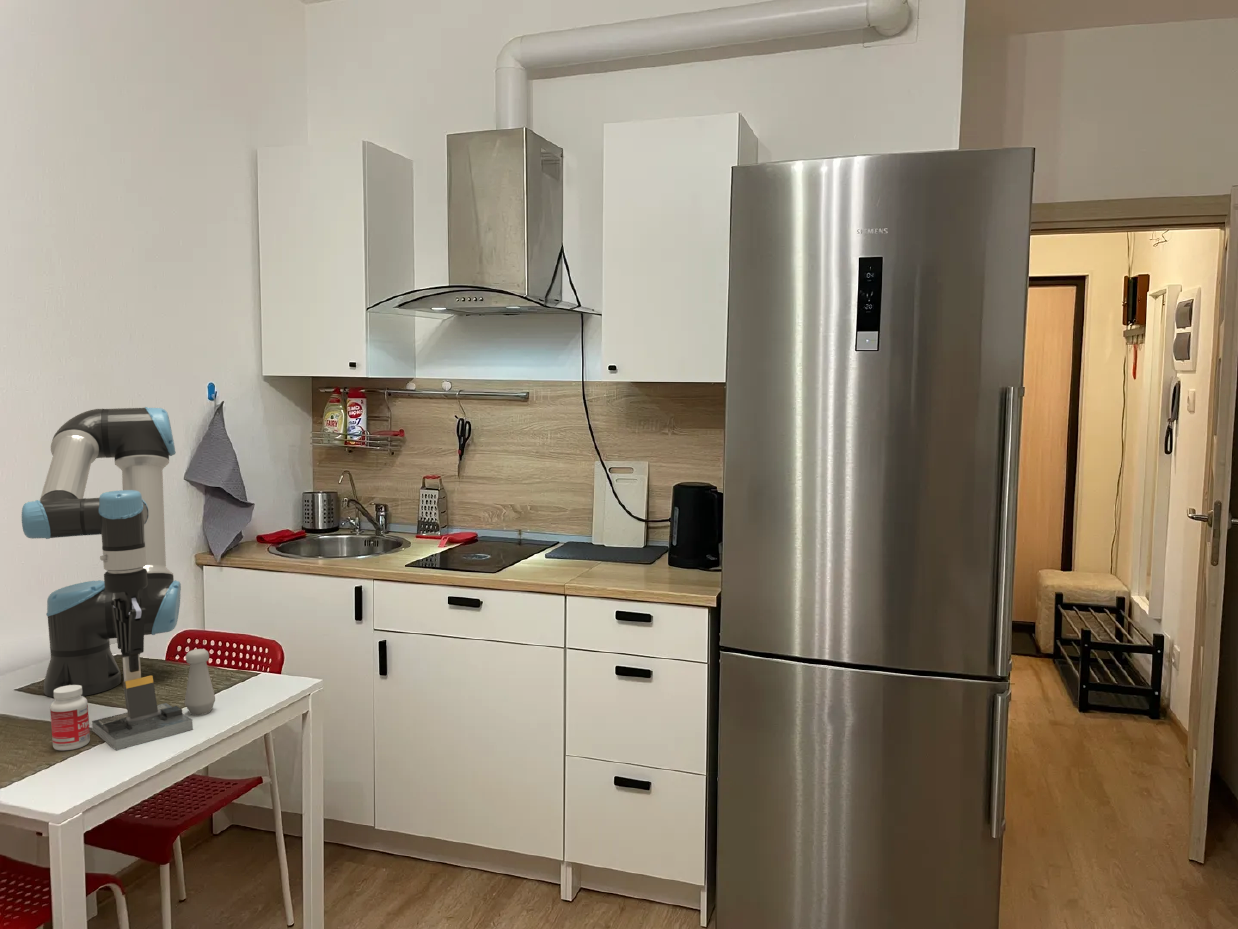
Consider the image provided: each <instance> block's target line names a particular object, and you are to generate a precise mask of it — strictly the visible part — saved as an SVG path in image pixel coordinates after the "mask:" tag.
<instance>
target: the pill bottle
mask: <svg viewBox="0 0 1238 929" xmlns="http://www.w3.org/2000/svg"><path fill="white" fill-rule="evenodd" d="M81 695H82V686H80V685H68V686H62V687H59V688H57V689H55V690H54V697H53V699H54V701H53V702H52V703H51V704H50V707H49V708H50V709H49V710H50V724H51V725H50V727H51V738H52V740H51V741H52V747H53V749H54V750H55V751H72V750H77V749H80V748H82V747H85V746H87V745H88V744H89V742H90V740H91V736H90V733H91V732H90V731H91V730H90V720H89V719H90V718H89V717H90V716H89V706H88V705H89V704H88V699H87V698H86V697H85V696H81Z"/></svg>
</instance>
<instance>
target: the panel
mask: <svg viewBox="0 0 1238 929" xmlns="http://www.w3.org/2000/svg"><path fill="white" fill-rule="evenodd" d="M157 708H158V710H160V712H161V715H160V716H157V717H153V718H149V719H145V720H141V721H137V722H133V723H129V724H127V722H126V718H128V713H127V712H123V713H120V714H119V713H118V714H114V715H111V716H107V717H103V718H100V719H94V720H91V729H92V732H93V733H95V735H97V736H98V737H99V738H100V739H102V740H103V741H104V742H106V743H107V744H108V745H109V746H111V747H112V748H113V749H114V750H116V751H118V750H122V749H125V748H129V747H133V746H136V745H139V744H144V743H147V742H152V741H156V740H159V739H162V738H166V737H170V736H174V735H177V734H181V733H185V732H188V731H193V730H194V725H193V719H192V718H190V717H189V716H188V715H186V714H184V713H183V709H182V708H181V707H179V706H178V705H174V706H172V705H170V704H168V703H167V702H165V703H160V704H157Z"/></svg>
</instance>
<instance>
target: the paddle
mask: <svg viewBox="0 0 1238 929" xmlns="http://www.w3.org/2000/svg"><path fill="white" fill-rule="evenodd" d="M153 677H154V676H153V675H147V676H141V678H137V679H133V680H129V681H124V680H123V681H122V687H123V691H124V692H123V693H124V699H125V705H126V713H128V718H126V722H127V724H129V723H133V722H137V721H141V720H145V719H149V718H153V717H157V716H160V715H161V712H160V710H158V708H157V705H158V703H157V695H156V691H155V690H156V689H155V685H154V678H153Z"/></svg>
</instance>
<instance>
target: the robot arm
mask: <svg viewBox="0 0 1238 929" xmlns="http://www.w3.org/2000/svg"><path fill="white" fill-rule="evenodd" d="M50 443H51V444H50V453H51V455H52V459H51V462H50V464H49V468H48V472H47V475H46V478H45V482H44V485H43V488H42V492H41V495H40V497H39V499H36V500H35V501H34V500H32V501H28V502H24V504H23V506H22V508H21V525H22V531H23V534H24V535H25V537H26V538H28V539H31V540H32V539H46V540H49V539H54V538H67V537H68V538H69V537H83V536H95V535H96V536H99V535H101V544H102V547H101V550H102V555H100V557H99V560H100V561H103V562H102V563H103V570H105V571H106V572H104V574H103V580H88V581H83V582H79V583H75V584H70V585H66V586H64V587H61V588H58V589H56V590H54V591H53V592H51V593H50V594H49V595H48V597H47V604H46V605H47V606H46V610H47V611H46V617H47V627H48V637H49V648H50V649H49V650H50V660H49V662H48V666H47V670H46V674H45V677H44V681H43V694H44V695H45V696H46V697H50V698H54V690H55V689H57V688H59V687H62V686H68V685H80V686H82V695H81V696H83V697H85V696H90V695H95V694H99V693H103V692H105V691H108V690H111V689H113V688H116V687H117V686H119V685H120V683H121V682H122V674H121V670H120V668H119V666H118V664H117V661H116V659H115V656H114V655H113V653H112V651H111V646H110V645H111V642H110V639H116V643H117V649H118V650H120V653H121V657H122V669H123V672H122V673H123V682H124V681H129V680H133V679H137V678H142V673H141V657H140V654H142V653H144V650H145V648H144V647H145V643H144V642H145V636H147V635H152V636H156V635H157V634H164V633H165V634H166V633H170V632H172V631H174V630H175V629H176V627H177V625H178V620H179V614H180V605H181V590H182V589H181V588H182V586H181V585H182V584H181V581H179V580H174V573H173V572H172V571H170V570H169V569H168V567H167V561H166V560H167V557H166V555H167V554H166V532H165V505H164V503H165V502H164V481H163V480H164V479H163V478H164V477H163V476H164V475H163V470H164V469H165V467H167V466H168V465H169V464H170V457H172V456H174V455H176V447H175V441H174V434H173V430H172V427H171V421H170V416H169V413H168V412H167V410H166V409H164V408H162V407H148V406H144V407H128V408H127V407H125V408H122V407H121V408H95V409H89V410H86V411H84V412H81V413H79V414H77V415H75V416H73V417H72V418H69V419H68V420H67V421H66V422H64V423H63V424H62V426H60V427H59V429H57V431H55V434H54V435H53V437H52V441H51V442H50ZM102 458H103V459H105V458H106V459H109V458H110V459H111V458H113V459H114V465H115V466H116V467H117V468H118V469H120V470H121V477H122V478H121V480H122V481H121V482H122V484H121V485H122V486H121V487H122V489H121V490H112V491H106V492H102V494H100V495H99V497H92V498H89V497H88V498H86V497H85V498H84V495H85V491H86V488H87V487H86V486H87V482H88V479H89V478H88V477H89V473H90V469H91V466H92V464H93V462H94V461H96V460H97V459H102Z"/></svg>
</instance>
